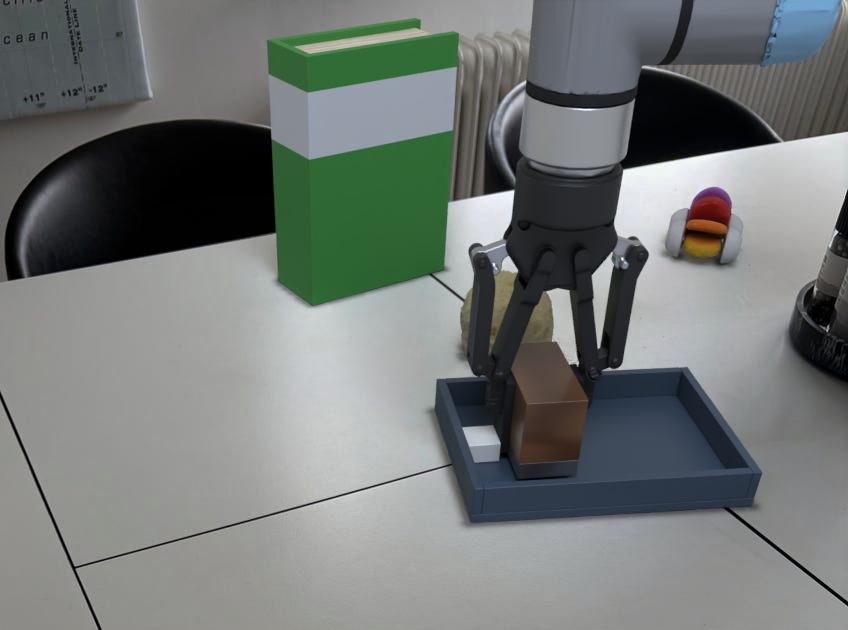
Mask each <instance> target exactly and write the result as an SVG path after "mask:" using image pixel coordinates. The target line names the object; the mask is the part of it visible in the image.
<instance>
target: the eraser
mask: <svg viewBox="0 0 848 630" xmlns="http://www.w3.org/2000/svg"><path fill="white" fill-rule="evenodd" d="M569 364H570V363H569V362H568V360H567V358H566V356H565V354H564V352H563V350H562V349H561V346H560V345H559V343H558V341H552V342H536V343H521V344H520V347H519V349H518V352H517V354H516V357H515V360H514V362H513V365H512V367H511V370H510V372H511V374H512V376H513V378H514V381H515V383H516V387H515V396H514V404H513V413H512V422H511V431H510V441H509V449H508V453H507V454H508V456H509V459H510V461H511V464H512V466H513V469H514V471H515V474H516V476H517V479H525V478H540V477H556V476H571V475H576V473H577V467H578V461H579V455H580V450H581V444H582V438H583V432H584V426H585V420H586V414H587V408H588V402H589V400H588V398H587V396H586V395H585V393H584V391H583V389H582V387H581V385H580V384H579V382H578V380H577V378H576V376H575V374H574V372H573V371H572V369H571V367H570V365H569ZM493 419H494V420H495V415H493Z"/></svg>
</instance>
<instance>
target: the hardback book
mask: <svg viewBox="0 0 848 630" xmlns="http://www.w3.org/2000/svg"><path fill="white" fill-rule="evenodd" d="M421 23H422V19H420V18H417V17H412V18H407V19H399V20H398V19H397V20H393V21H385V22H378V23H372V24H364V25H358V26H357V25H356V26H352V27H344V28H338V29H330V30H325V31H317V32H310V33H302V34H296V35H290V36H282V37H276V38H269V39H266V46H267V47H266V48H267V49H266V50H267V70H268V71H267V73H268V93H269V94H268V95H269V113H270V114H269V115H270V134H271V135H270V137H271V154H272V155H271V156H272V178H273V199H274V219H275V220H274V221H275V239H276V240H275V241H276V262H277V281H278V283H280V284H282V285H283V286H284V287H286V288H287V289H288V290H290V291H291V292H293V293H294V294H296V295H297V296H299V297H300V298H301V299H303V300H304V301H306V302H307V303H308V304H310V305H311V306H312V307H314V306H317V305H321V304H324V303H328V302H331V301H335V300H339V299H342V298H346V297H350V296H353V295H357V294H361V293H365V292H368V291H372V290H376V289H379V288H383V287H386V286H389V285H390V286H391V285H393V284H397V283H402V282H405V281H409V280H411V279H416V278H419V277H423V276H426V275H430V274H434V273H437V272H440V271H444V270H445V261H446V260H445V259H446V246H447V245H446V244H447V232H448V231H447V228H448V215H449V214H448V211H449V199H450V197H449V196H450V182H451V168H452V151H453V136H454V135H453V134H454V122H455V121H454V120H455V105H456V103H455V101H456V87H457V74H458V58H459V57H458V56H459V42H460V39H459V38H460V33H459V32H457V31H454V30H452V31H447V32H440V33H439V32H438V33H431V32H429V31H425V30H423V29H421Z"/></svg>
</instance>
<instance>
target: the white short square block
mask: <svg viewBox="0 0 848 630" xmlns="http://www.w3.org/2000/svg"><path fill="white" fill-rule="evenodd" d="M462 428H463V431H464V434H465V437H466V439H467V442H468V445H469V448H470V451H471V453H472V456H473V459H474V462H475V463H481V462H495V461H499V458H500V447H501V443H500V440H499V438H498V435H497V433H496V430H495V428H494V425H488V426H474V427H462Z"/></svg>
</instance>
